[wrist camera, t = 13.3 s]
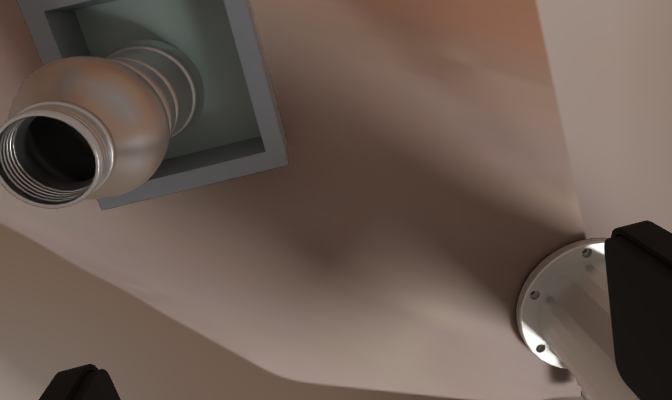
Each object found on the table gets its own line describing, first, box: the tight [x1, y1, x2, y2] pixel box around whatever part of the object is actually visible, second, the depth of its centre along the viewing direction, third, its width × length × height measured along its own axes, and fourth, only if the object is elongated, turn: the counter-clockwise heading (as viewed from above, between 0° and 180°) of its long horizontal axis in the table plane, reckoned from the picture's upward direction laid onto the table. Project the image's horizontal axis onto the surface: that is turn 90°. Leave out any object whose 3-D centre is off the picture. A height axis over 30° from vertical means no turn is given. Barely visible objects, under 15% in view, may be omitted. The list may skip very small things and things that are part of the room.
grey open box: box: [17, 0, 289, 210], centre depth 36 cm, size 13×12×6 cm
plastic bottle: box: [0, 39, 205, 208], centre depth 29 cm, size 6×7×20 cm
